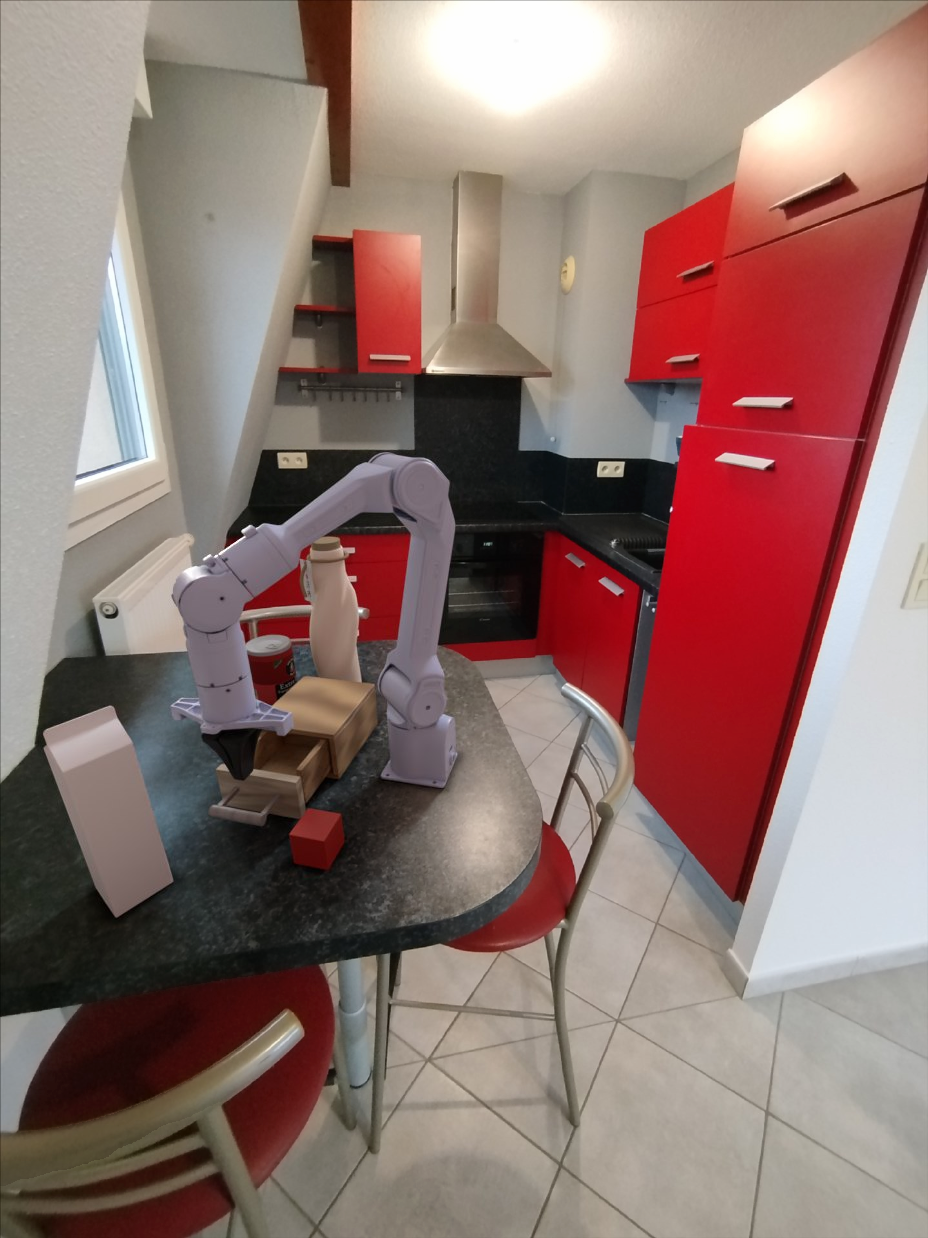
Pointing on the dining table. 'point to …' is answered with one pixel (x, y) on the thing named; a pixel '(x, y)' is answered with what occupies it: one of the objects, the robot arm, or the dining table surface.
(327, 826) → the block
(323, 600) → the water bottle
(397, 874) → the dining table surface
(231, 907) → the dining table surface
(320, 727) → the cabinet
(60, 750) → the milk
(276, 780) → the drawer
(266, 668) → the canned food
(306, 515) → the robot arm
